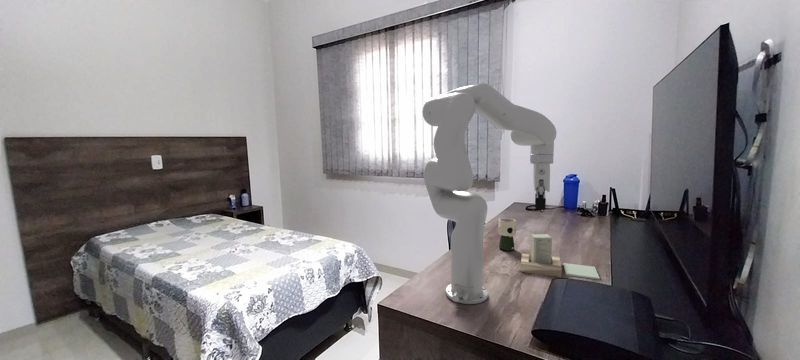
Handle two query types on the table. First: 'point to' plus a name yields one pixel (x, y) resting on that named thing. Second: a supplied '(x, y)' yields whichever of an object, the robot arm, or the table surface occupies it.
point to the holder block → (541, 266)
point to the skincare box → (541, 248)
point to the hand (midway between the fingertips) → (540, 206)
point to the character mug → (507, 233)
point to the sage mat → (581, 271)
